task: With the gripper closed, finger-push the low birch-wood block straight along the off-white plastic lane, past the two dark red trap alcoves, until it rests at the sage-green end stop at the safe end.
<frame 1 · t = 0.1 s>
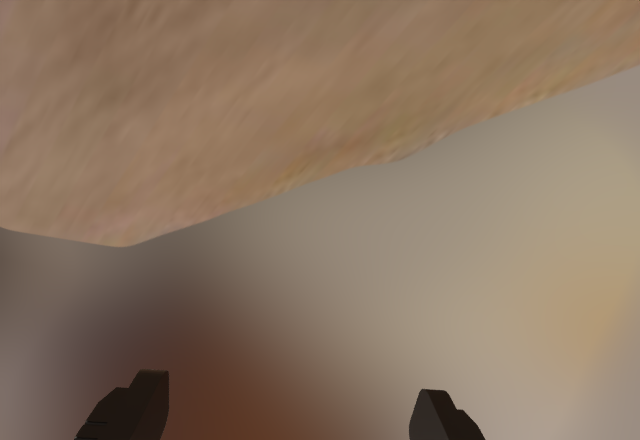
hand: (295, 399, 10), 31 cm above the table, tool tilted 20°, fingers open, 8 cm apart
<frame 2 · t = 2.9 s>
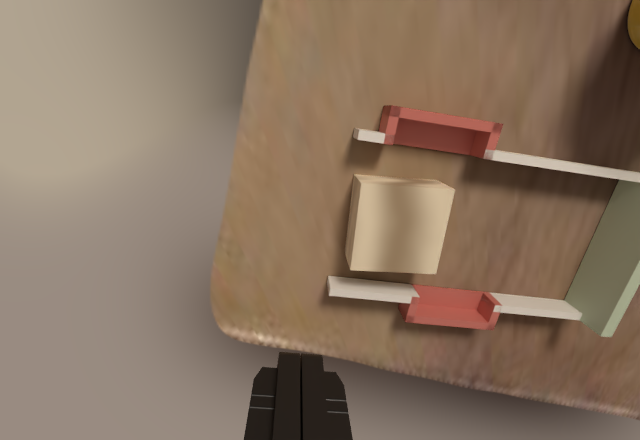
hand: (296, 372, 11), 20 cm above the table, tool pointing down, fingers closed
trap lane: (475, 228, 32), on the table
birch block: (388, 216, 32), on the table
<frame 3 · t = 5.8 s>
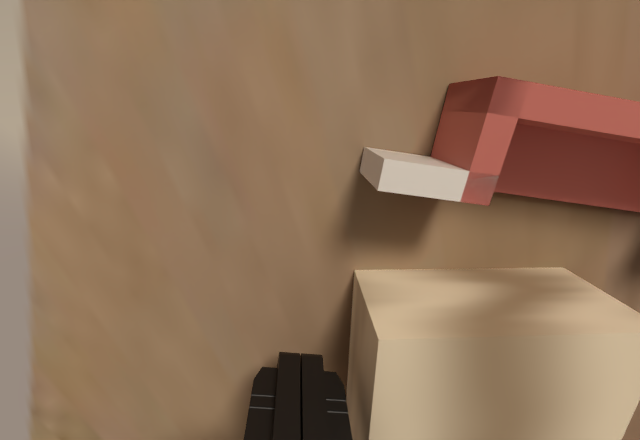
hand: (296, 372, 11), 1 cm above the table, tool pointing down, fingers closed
trap lane: (638, 371, 14), on the table
birch block: (442, 350, 13), on the table, touching gripper
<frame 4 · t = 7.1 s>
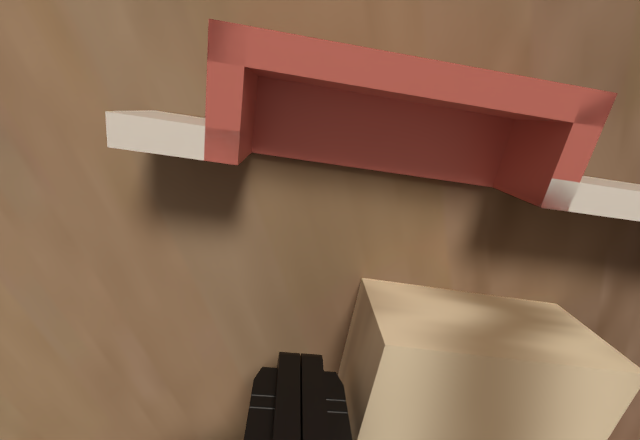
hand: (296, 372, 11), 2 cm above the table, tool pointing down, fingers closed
trap lane: (502, 357, 13), on the table
birch block: (429, 365, 14), on the table, touching gripper
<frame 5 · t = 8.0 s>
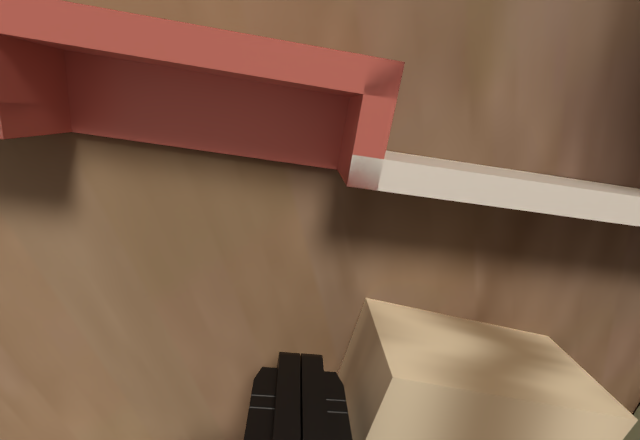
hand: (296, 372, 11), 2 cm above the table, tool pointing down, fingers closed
trap lane: (380, 349, 13), on the table
birch block: (422, 389, 14), on the table, touching gripper
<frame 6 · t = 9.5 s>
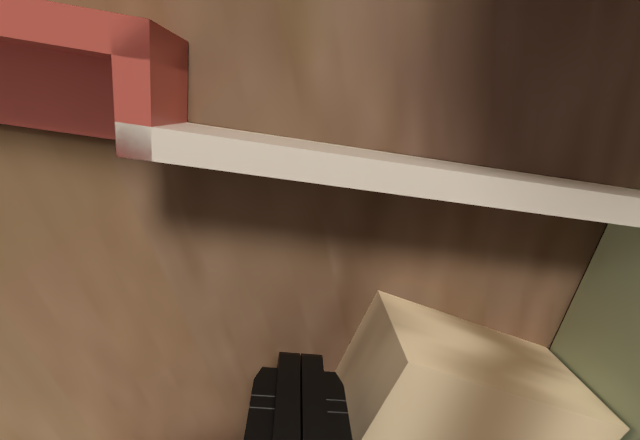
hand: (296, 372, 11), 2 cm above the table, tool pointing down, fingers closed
trap lane: (241, 337, 12), on the table
birch block: (417, 386, 14), on the table, touching gripper
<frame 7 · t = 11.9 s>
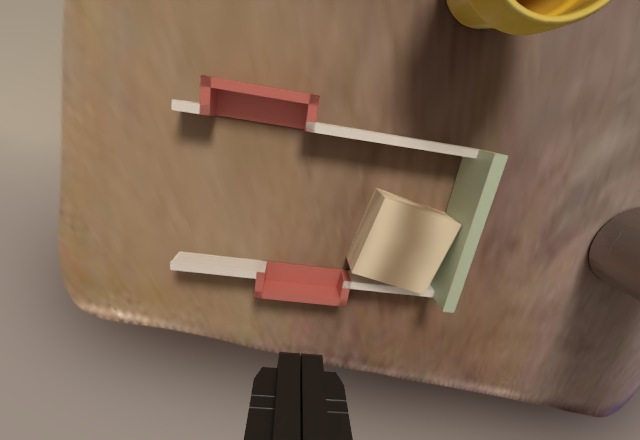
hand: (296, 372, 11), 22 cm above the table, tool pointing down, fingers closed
trap lane: (323, 204, 32), on the table
birch block: (393, 233, 34), on the table
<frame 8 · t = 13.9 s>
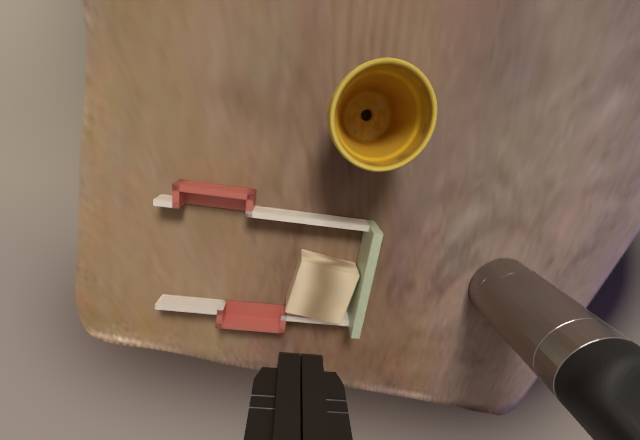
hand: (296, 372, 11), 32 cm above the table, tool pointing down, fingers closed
trap lane: (266, 260, 45), on the table
birch block: (320, 279, 47), on the table
plant pot: (364, 115, 40), on the table
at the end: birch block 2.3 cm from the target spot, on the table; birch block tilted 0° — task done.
